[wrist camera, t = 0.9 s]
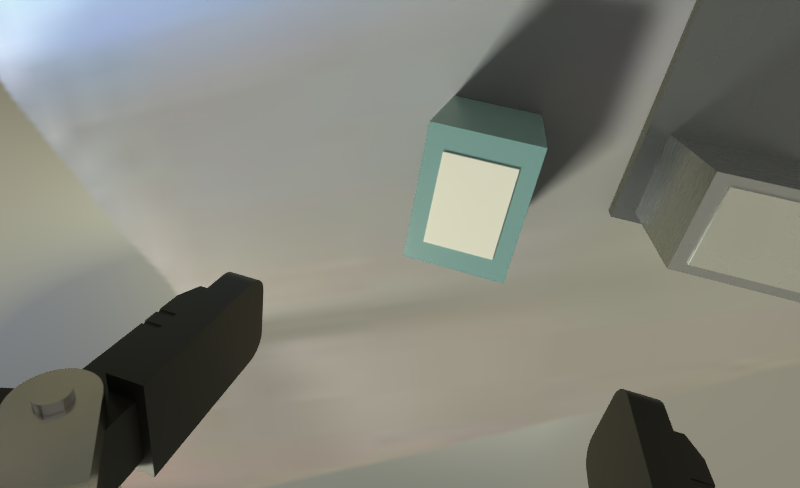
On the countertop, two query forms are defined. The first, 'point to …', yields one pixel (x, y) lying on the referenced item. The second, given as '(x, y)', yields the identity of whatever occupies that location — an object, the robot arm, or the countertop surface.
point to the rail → (725, 86)
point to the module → (475, 186)
